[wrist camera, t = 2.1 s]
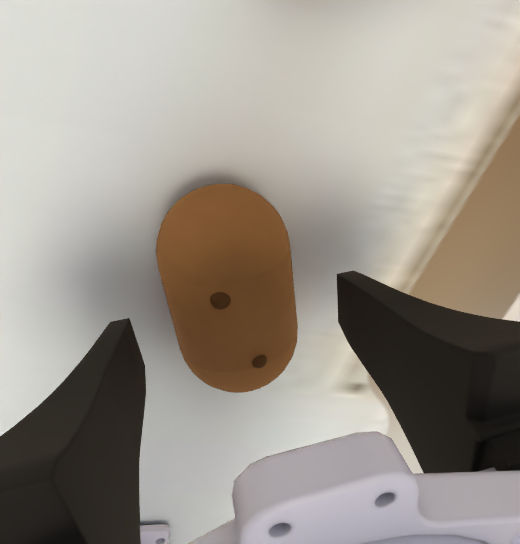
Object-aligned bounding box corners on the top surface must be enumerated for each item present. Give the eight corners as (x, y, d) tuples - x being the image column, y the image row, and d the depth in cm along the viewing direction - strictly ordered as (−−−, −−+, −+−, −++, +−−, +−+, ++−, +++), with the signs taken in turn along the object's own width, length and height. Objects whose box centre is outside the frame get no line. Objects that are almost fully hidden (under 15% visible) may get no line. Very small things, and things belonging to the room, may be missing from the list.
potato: (285, 331, 20) (318, 404, 16) (188, 353, 20) (195, 436, 15) (266, 159, 16) (303, 196, 12) (143, 181, 16) (136, 227, 11)
